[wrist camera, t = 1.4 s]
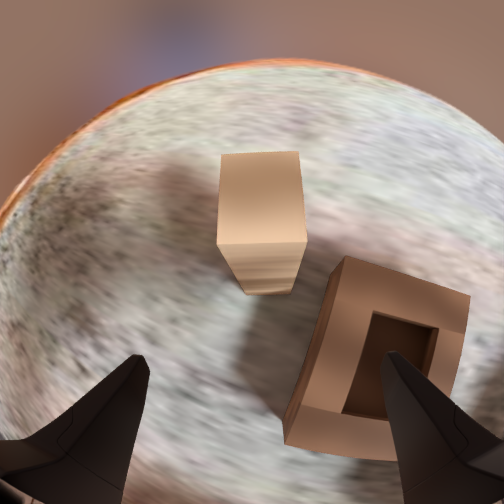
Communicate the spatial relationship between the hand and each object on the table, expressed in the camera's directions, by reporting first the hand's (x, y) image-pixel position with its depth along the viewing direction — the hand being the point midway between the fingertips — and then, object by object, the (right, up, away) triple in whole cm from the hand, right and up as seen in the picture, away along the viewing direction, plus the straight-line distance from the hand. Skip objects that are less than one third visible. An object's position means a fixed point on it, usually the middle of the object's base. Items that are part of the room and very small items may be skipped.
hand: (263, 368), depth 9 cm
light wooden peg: (+1, +3, +14) cm, 15 cm away
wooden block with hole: (+9, -5, +11) cm, 15 cm away
